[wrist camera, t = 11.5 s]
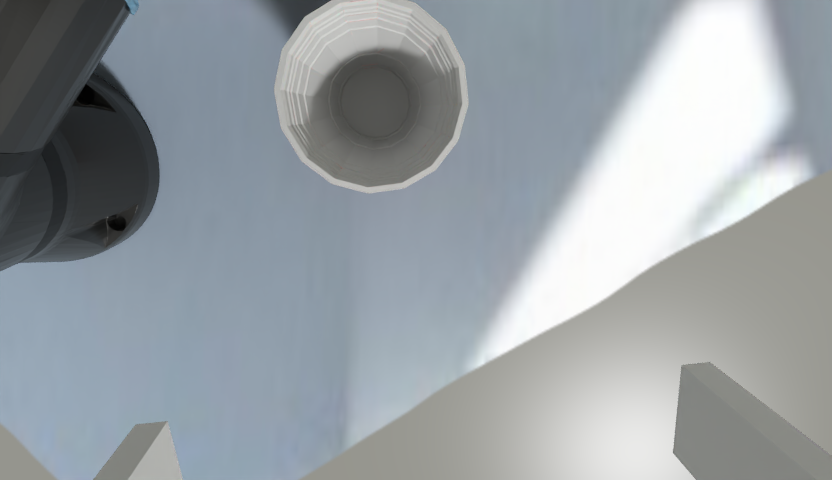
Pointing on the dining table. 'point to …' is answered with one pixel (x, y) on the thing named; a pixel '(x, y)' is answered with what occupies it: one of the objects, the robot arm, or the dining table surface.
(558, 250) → the dining table surface
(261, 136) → the dining table surface
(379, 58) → the plastic cup
